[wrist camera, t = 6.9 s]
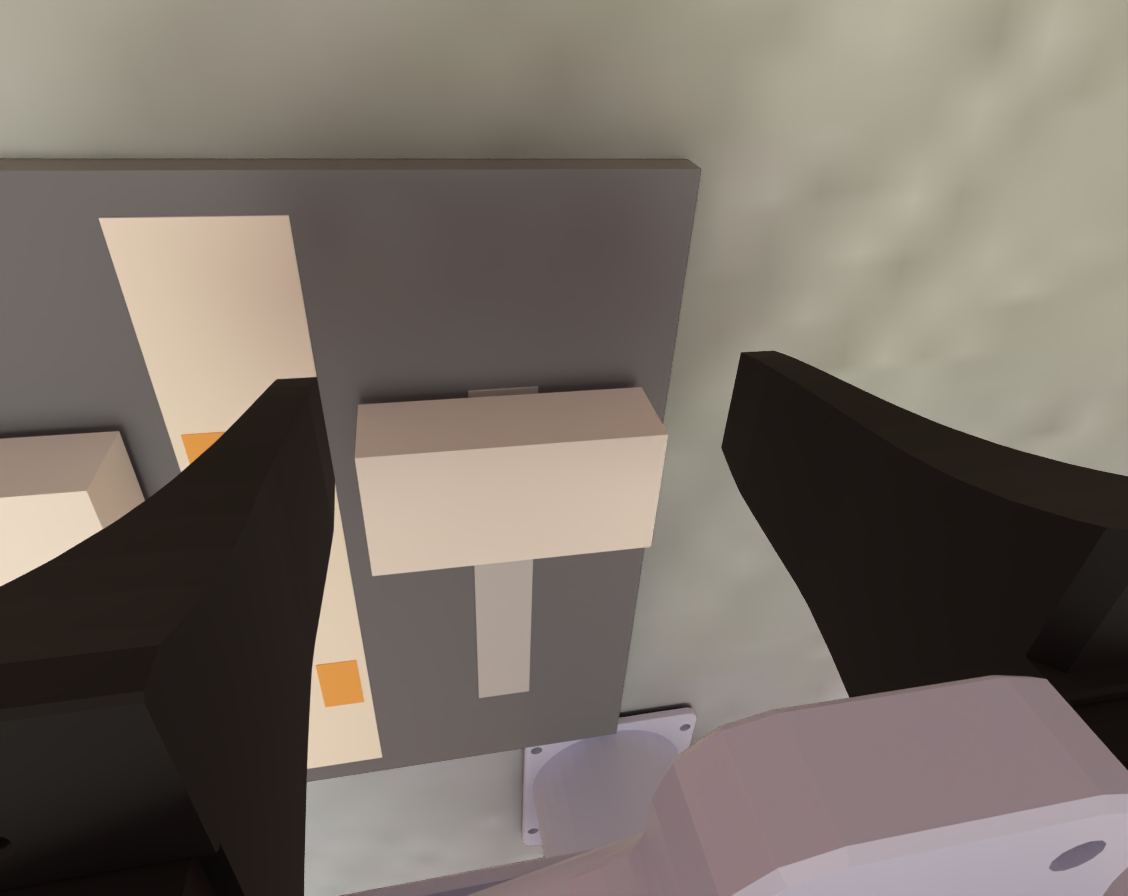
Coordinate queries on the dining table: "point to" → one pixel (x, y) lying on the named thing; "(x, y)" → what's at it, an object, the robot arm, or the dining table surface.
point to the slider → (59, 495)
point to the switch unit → (363, 385)
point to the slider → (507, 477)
